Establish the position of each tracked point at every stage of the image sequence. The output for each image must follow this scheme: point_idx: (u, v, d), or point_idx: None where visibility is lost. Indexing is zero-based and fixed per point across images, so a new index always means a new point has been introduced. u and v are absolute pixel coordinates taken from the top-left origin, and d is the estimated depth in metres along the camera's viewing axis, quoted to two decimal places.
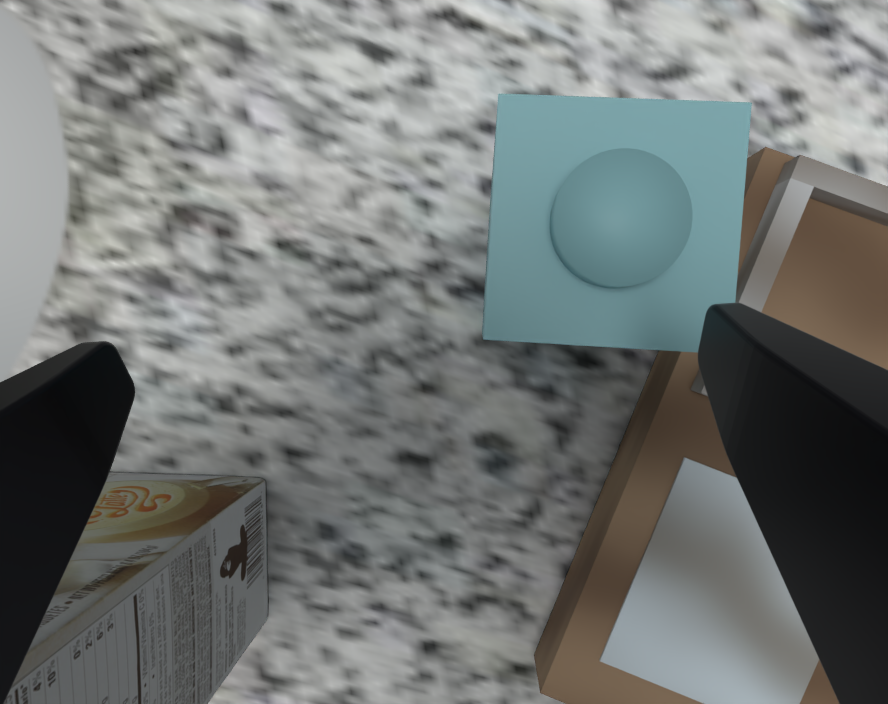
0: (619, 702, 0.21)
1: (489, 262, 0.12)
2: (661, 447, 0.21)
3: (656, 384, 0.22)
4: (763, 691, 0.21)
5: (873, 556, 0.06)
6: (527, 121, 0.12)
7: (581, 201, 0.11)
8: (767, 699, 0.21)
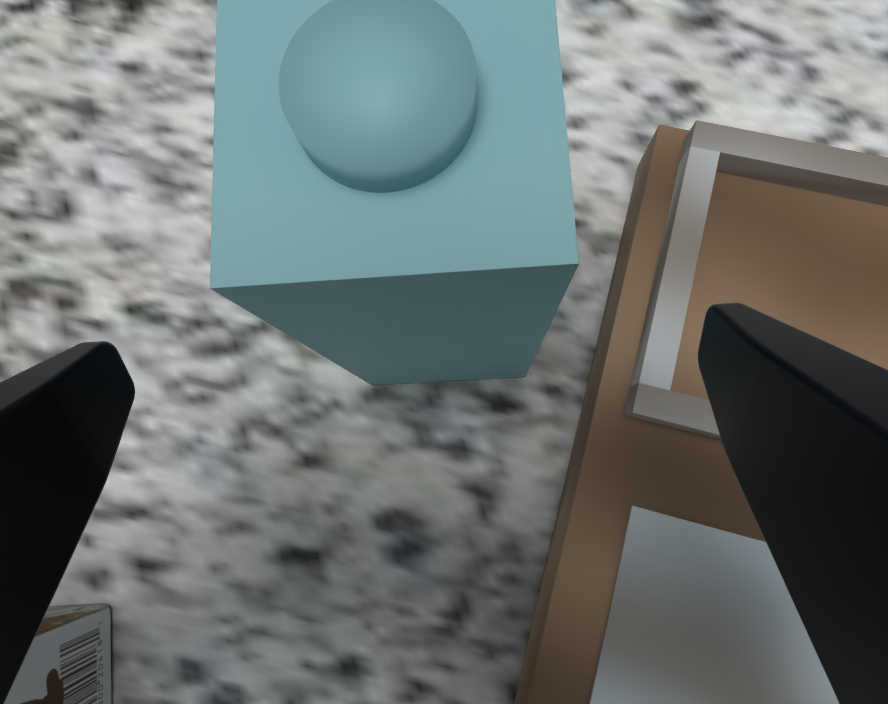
0: None
1: (215, 180, 0.08)
2: (599, 496, 0.16)
3: (586, 418, 0.17)
4: None
5: (873, 556, 0.06)
6: None
7: (315, 62, 0.08)
8: None
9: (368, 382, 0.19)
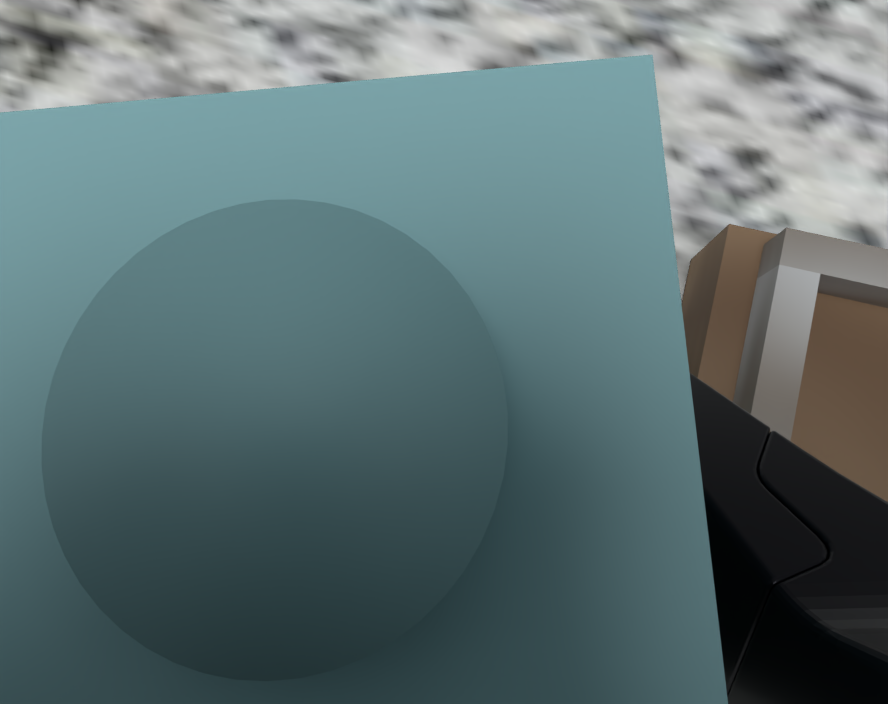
0: None
1: None
2: None
3: None
4: None
5: None
6: (55, 173, 0.04)
7: (127, 384, 0.03)
8: None
9: None
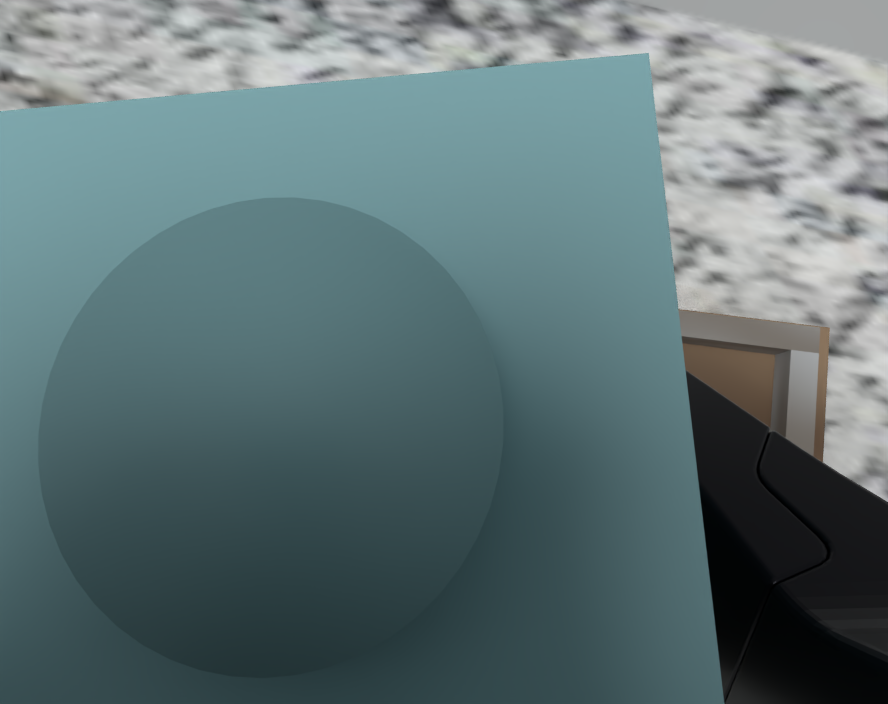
0: None
1: None
2: None
3: None
4: None
5: None
6: (53, 171, 0.04)
7: (124, 382, 0.03)
8: None
9: None
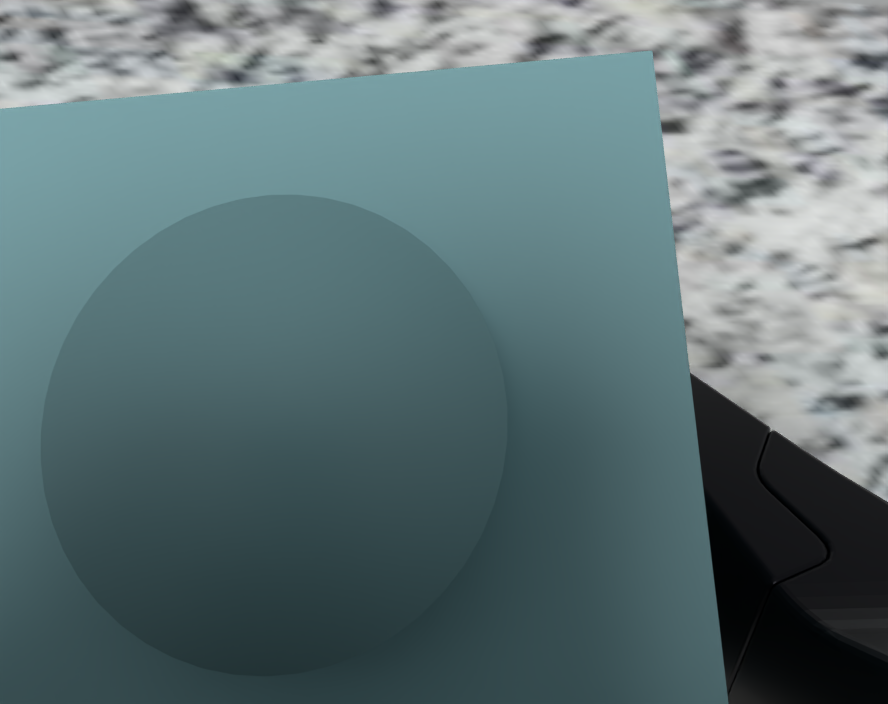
0: None
1: None
2: None
3: None
4: None
5: None
6: (55, 169, 0.04)
7: (127, 379, 0.03)
8: None
9: None
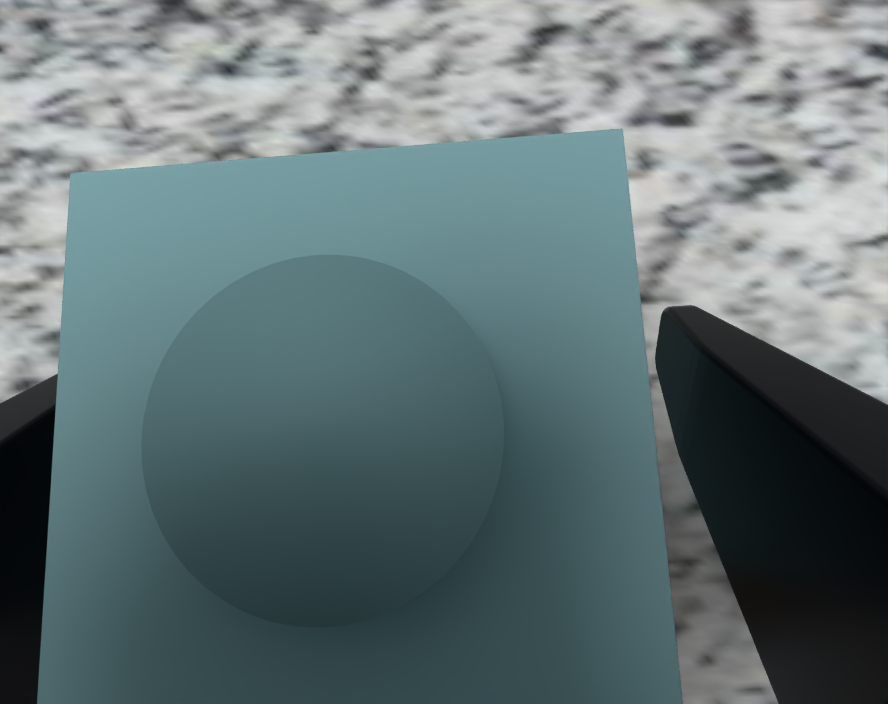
0: None
1: (52, 558, 0.05)
2: None
3: None
4: None
5: (804, 558, 0.06)
6: (133, 223, 0.05)
7: (208, 400, 0.04)
8: None
9: None
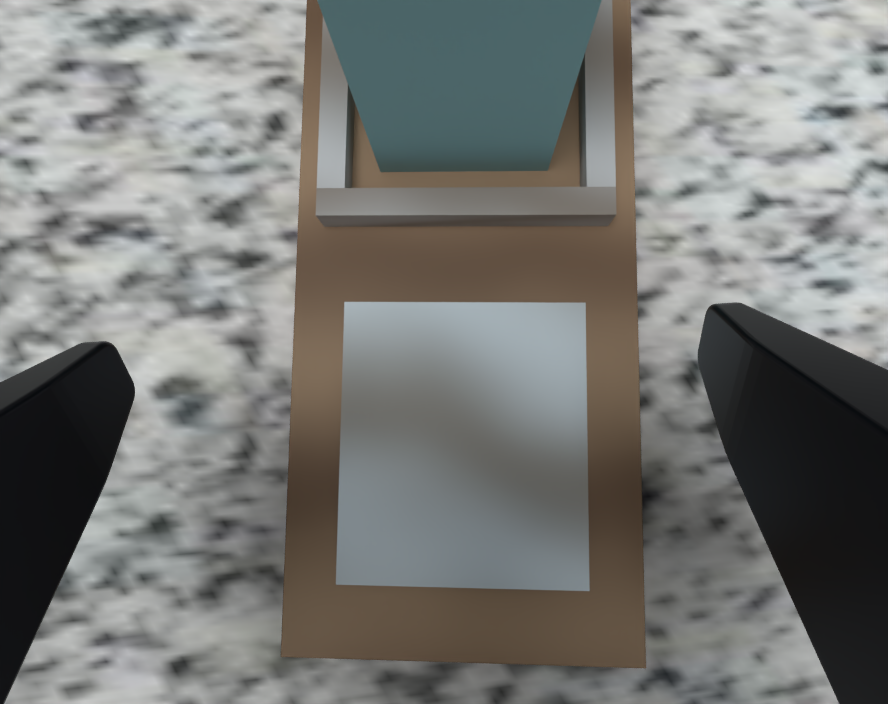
0: (381, 629, 0.16)
1: None
2: (316, 302, 0.17)
3: None
4: (542, 544, 0.16)
5: (873, 556, 0.06)
6: None
7: None
8: (552, 553, 0.16)
9: (377, 161, 0.17)
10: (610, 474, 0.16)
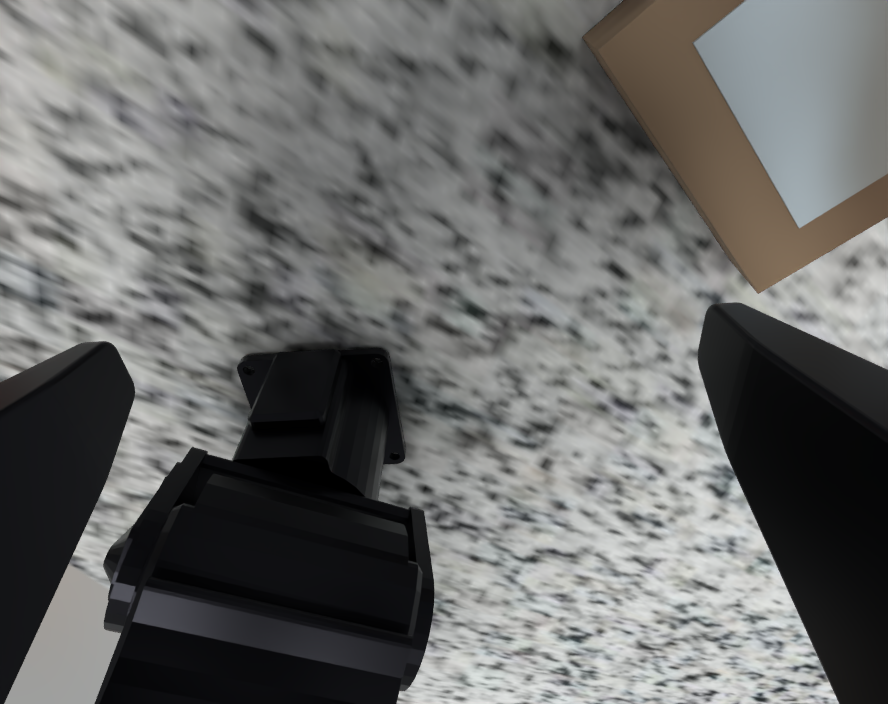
0: (674, 111, 0.17)
1: None
2: None
3: None
4: (820, 173, 0.18)
5: (873, 556, 0.06)
6: None
7: None
8: (816, 184, 0.18)
9: None
10: None
